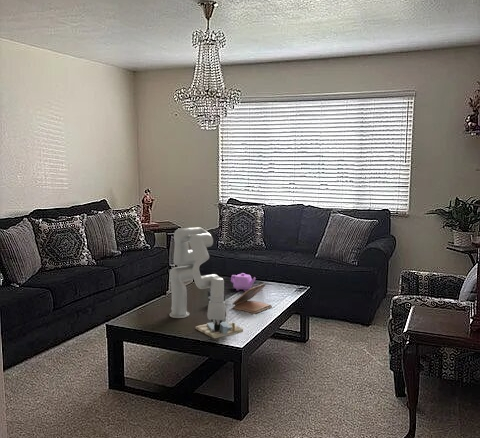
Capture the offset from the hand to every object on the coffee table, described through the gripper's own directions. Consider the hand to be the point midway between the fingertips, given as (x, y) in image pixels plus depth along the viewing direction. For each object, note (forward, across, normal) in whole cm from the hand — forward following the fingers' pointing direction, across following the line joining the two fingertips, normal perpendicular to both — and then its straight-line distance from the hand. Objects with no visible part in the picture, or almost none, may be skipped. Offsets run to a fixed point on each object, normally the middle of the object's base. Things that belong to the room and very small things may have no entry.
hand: (217, 330), depth 291 cm
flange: (+1, 0, +6) cm, 6 cm away
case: (+4, +3, +58) cm, 58 cm away
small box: (+4, -22, +54) cm, 58 cm away
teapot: (+4, -18, +100) cm, 102 cm away
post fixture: (+3, -2, +9) cm, 10 cm away
